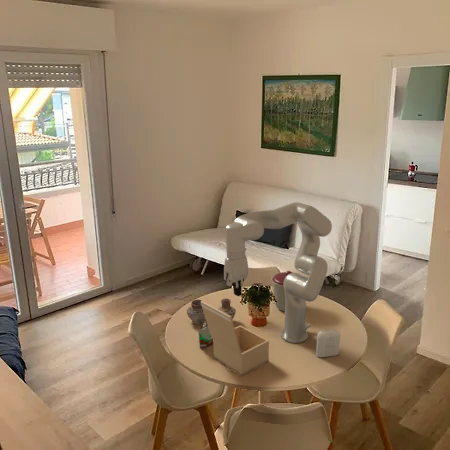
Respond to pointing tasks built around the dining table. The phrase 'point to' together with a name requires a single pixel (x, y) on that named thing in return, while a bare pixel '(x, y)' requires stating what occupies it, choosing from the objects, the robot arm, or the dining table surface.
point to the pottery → (198, 315)
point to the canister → (280, 289)
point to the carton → (243, 352)
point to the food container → (205, 336)
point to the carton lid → (221, 327)
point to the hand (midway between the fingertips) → (237, 294)
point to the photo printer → (328, 343)
